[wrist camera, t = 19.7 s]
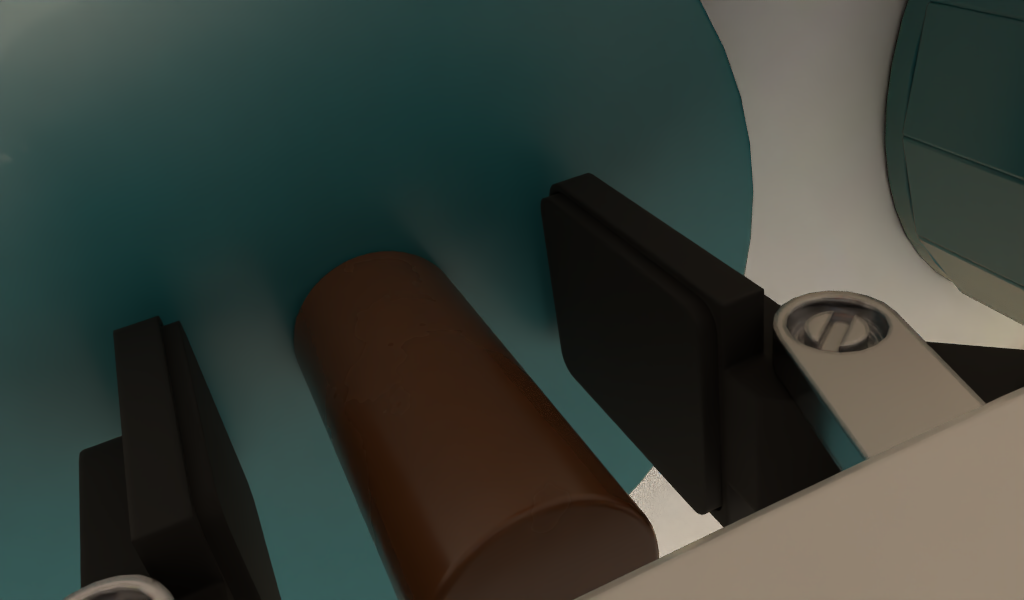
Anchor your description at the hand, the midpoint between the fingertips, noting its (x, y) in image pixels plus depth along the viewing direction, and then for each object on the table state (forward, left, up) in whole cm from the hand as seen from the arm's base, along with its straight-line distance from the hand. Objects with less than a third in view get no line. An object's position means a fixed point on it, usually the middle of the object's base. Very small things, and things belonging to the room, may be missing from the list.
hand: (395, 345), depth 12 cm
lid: (0, 0, -1) cm, 1 cm away
